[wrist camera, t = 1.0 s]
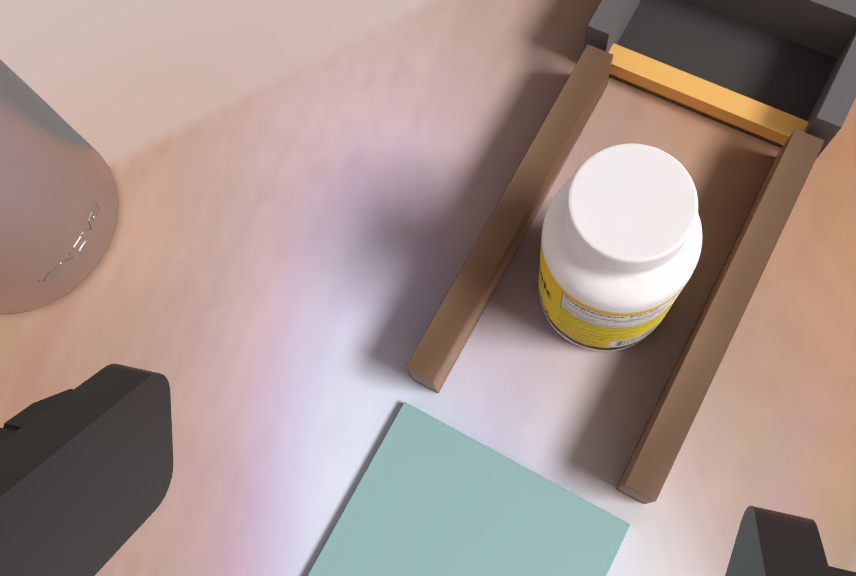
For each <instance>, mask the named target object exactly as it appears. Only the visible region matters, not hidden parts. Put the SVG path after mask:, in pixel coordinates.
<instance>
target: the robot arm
mask: <svg viewBox="0 0 856 576" xmlns="http://www.w3.org/2000/svg"><path fill="white" fill-rule="evenodd" d="M117 212H118V196H117V188H116V183H115V181H114V178H113V175H112V173H111V170H110V168H109V166H108V165H107V163H106V162H105V161H104V159H103V158H102V156H101V155H100V153H98V152H97V151H96V150H95V149H94V148H93V147H92V146H91V145H90V144H89V143H88V142H87V141H86V140H85V139H84V138H82V137H81V136H80V135H79V134H78V133H77V132H76V131H75V130H74V129H73V128H72V127H71V126H70V125H69V124H68V123H67V122H66V121H64V120H63V119H62V118H61V117H60V116H59V115H58V114H57V113H56V112H55V111H54V110H53V109H52V108H51V107H50V106H49V105H48V104H47V103H46V102H45V101H44V100H43V99H42V98H41V97H40V96H39V95H38V94H36V93H35V92H34V91H33V90H32V89H31V88H30V87H29V86H28V85H27V84H26V83H25V82H24V81H23V80H22V79H21V78H19V77H18V76H17V75H16V74H15V73H14V72H13V71H12V70H11V69H10V68H9V67H8V66H7V65H6V64H5V63H4V62H2V61H1V60H0V313H2V314H12V313H19V312H26V311H31V310H33V309H36V308H39V307H42V306H45V305H48V304H50V303H52V302H54V301H55V300H57V299H59V298H61V297H62V296H64V295H66V294H67V293H69V292H70V291H71V290H73V289H74V288H75V287H76V286H77V285H78V284H80V283H81V282H82V281H83V280H84V279H86V277H87V276H88V275H89V274H90V273H91V271H92V270H93V269H94V268H95V266H96V265H97V264H98V263H99V262H100V260H101V258H102V256H103V254H104V253H105V251H106V249H107V247H108V245H109V244H110V241H111V238H112V235H113V232H114V229H115V226H116V221H117ZM172 473H173V445H172V422H171V399H170V386H169V382H168V380H167V378H166V377H165V376H164V375H163V374H160V373H155V372H151V371H146V370H142V369H137V368H133V367H128V366H124V365H119V364H110V365H108V366H106V367H105V368H103V369H102V370H100V371H99V372H98V373H96V374H95V375H93V376H92V377H91V378H89V379H88V380H86V381H85V382H84V383H82V384H81V385H80V386H78V387H77V388H75V389H74V390H73V389H69V390H66V391H64V392H61V393H59V394H56V395H53V396H51V397H48V398H46V399H43V400H40V401H38V402H35V403H33V404H31V405H30V406H29V407H27V408H26V409H24V410H23V411H21V412H20V413H18V414H17V415H16V416H14V417H13V418H11V419H10V420H8V421H7V422H6V423H4V427H3V428H0V576H95V574H96V573H97V572H98V571H99V570H100V569H101V568H102V567H103V566H104V565H105V564H106V563H107V562H108V560H109V559H110V558H111V557H112V556H113V555H114V554H115V553H116V552H117V551H118V550H119V549H120V548H121V546H122V545H123V544H124V543H125V542H126V541H127V540H128V539H129V538H130V537H131V536H132V535H133V534H134V532H135V531H136V530H137V529H138V528H139V527H140V526H141V525H142V524H143V523H144V522H145V521H146V519H147V518H148V517H149V516H150V515H151V514H152V513H153V512H154V511H155V510H156V509H157V507H158V506H159V505H160V503H161V502H162V500H163V499H164V497H165V495H166V493H167V490H168V488H169V485H170V482H171V478H172ZM725 576H856V572H852V571H847V570H843V569H839V568H834V567H830V566H828V563H827V559H826V556H825V552H824V549H823V545H822V542H821V538H820V535H819V531H818V528H817V525H816V523H815V521H814V520H812V519H808V518H803V517H799V516H794V515H790V514H785V513H781V512H776V511H772V510H767V509H763V508H758V507H754V506H749V507H748V508H747V509H746V511H745V513H744V515H743V517H742V521H741V524H740V527H739V531H738V534H737V537H736V541H735V544H734V548H733V551H732V555H731V558H730V561H729V565H728V568H727V572H726V575H725Z"/></svg>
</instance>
